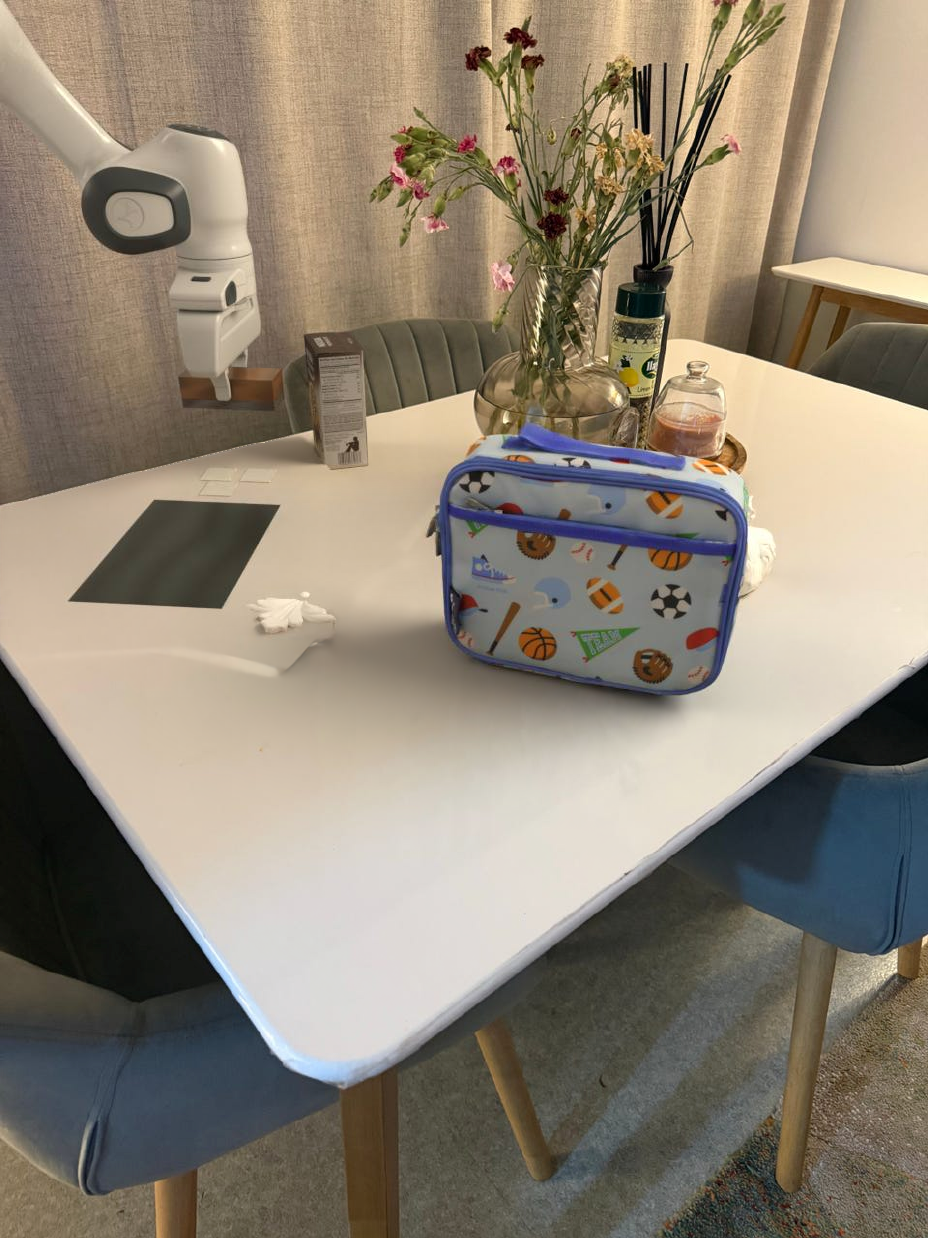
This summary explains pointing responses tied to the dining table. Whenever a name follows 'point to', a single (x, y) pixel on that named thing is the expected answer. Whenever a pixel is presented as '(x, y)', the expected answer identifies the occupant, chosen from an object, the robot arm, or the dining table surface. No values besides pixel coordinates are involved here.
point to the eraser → (236, 390)
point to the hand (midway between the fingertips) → (232, 390)
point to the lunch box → (592, 560)
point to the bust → (757, 554)
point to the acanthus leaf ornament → (288, 613)
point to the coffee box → (337, 398)
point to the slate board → (179, 555)
